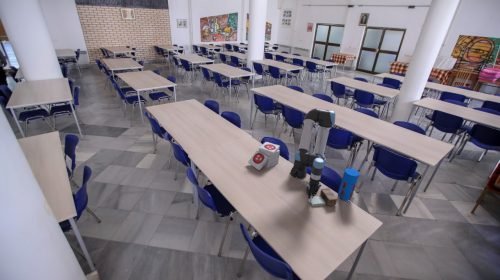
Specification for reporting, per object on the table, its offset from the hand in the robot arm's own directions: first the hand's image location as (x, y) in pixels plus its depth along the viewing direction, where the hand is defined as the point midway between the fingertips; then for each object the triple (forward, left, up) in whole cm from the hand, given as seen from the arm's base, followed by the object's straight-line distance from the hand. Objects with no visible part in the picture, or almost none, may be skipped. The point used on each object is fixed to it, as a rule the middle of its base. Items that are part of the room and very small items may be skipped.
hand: (309, 201), depth 189 cm
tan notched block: (0, +16, -1) cm, 16 cm away
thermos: (-2, +33, -2) cm, 33 cm away
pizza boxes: (-59, -21, -2) cm, 62 cm away
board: (0, +6, -2) cm, 6 cm away
